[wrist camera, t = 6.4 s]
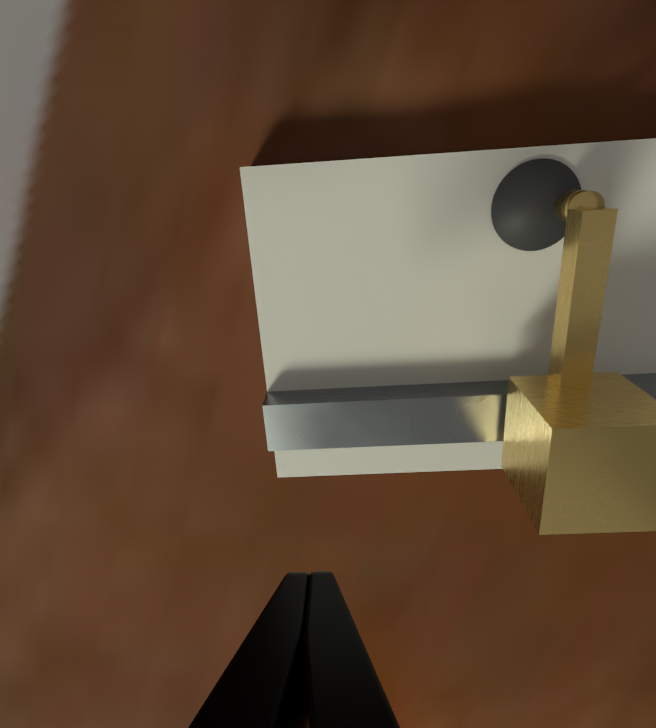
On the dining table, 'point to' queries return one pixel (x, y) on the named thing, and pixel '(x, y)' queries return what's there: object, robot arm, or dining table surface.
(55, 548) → the dining table surface
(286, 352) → the plate
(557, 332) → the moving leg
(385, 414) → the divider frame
